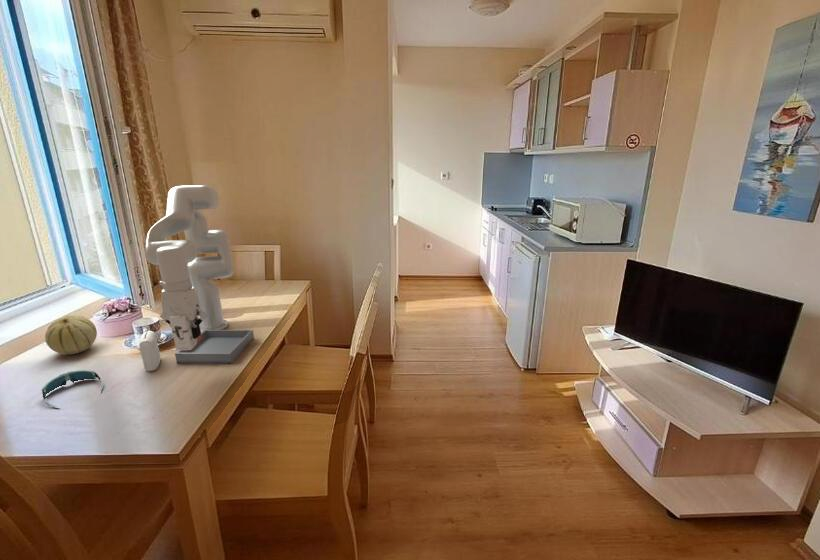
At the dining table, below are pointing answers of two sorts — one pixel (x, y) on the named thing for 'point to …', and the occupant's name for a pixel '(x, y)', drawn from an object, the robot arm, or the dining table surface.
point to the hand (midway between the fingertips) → (188, 336)
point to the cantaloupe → (70, 334)
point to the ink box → (183, 333)
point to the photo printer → (149, 351)
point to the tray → (216, 347)
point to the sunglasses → (66, 377)
